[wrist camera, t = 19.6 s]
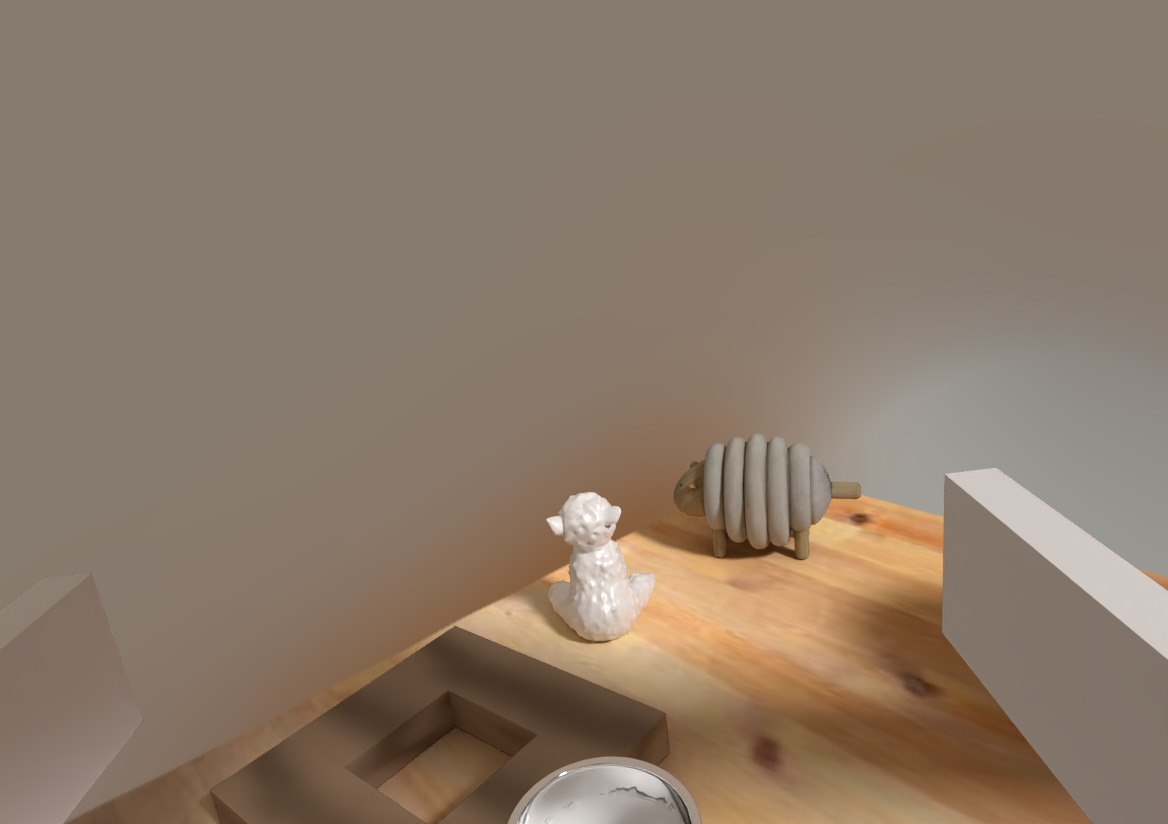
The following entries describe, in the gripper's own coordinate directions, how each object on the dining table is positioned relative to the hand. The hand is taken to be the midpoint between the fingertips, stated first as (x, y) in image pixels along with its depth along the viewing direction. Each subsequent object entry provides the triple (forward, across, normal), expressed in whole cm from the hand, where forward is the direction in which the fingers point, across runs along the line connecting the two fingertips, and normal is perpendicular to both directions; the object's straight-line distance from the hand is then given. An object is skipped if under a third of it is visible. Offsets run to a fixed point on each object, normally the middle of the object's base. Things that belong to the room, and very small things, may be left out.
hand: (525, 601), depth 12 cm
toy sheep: (+56, +15, -30) cm, 65 cm away
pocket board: (+29, -11, -30) cm, 43 cm away
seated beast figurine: (+47, 0, -30) cm, 56 cm away
